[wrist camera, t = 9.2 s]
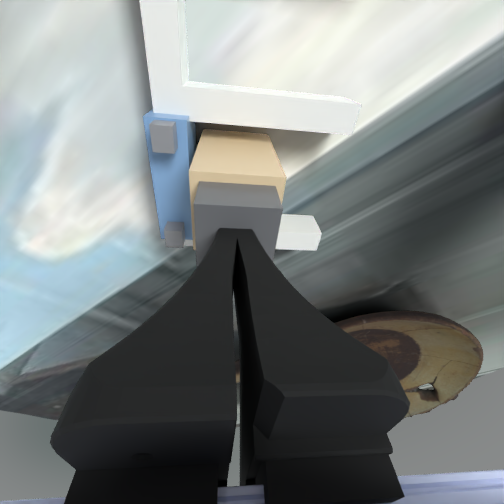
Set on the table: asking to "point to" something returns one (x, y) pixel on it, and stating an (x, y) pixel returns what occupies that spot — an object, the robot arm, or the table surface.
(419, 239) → the table surface
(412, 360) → the oil lamp
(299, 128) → the white frame
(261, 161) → the beige tall block
